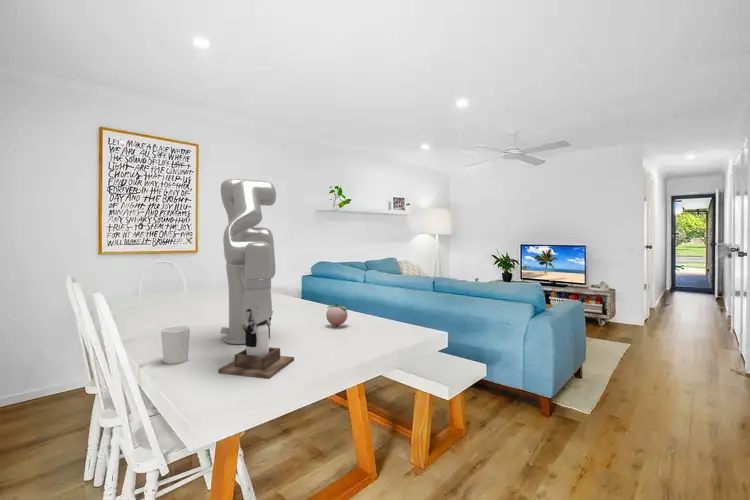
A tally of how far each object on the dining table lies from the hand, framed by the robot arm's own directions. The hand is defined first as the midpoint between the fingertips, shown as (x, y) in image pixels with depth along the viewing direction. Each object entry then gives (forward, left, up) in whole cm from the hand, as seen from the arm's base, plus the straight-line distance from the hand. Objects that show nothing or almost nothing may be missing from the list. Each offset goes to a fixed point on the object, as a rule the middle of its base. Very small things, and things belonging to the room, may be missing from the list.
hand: (258, 342), depth 117 cm
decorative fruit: (+7, +53, -8) cm, 54 cm away
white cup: (-27, -2, -8) cm, 28 cm away
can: (0, 0, -6) cm, 6 cm away
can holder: (0, 0, -7) cm, 7 cm away
